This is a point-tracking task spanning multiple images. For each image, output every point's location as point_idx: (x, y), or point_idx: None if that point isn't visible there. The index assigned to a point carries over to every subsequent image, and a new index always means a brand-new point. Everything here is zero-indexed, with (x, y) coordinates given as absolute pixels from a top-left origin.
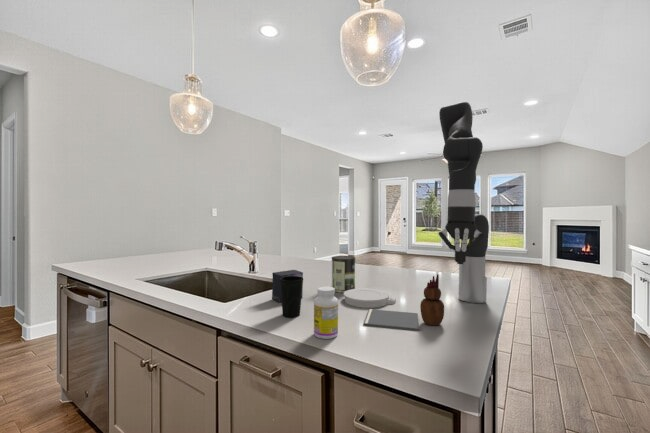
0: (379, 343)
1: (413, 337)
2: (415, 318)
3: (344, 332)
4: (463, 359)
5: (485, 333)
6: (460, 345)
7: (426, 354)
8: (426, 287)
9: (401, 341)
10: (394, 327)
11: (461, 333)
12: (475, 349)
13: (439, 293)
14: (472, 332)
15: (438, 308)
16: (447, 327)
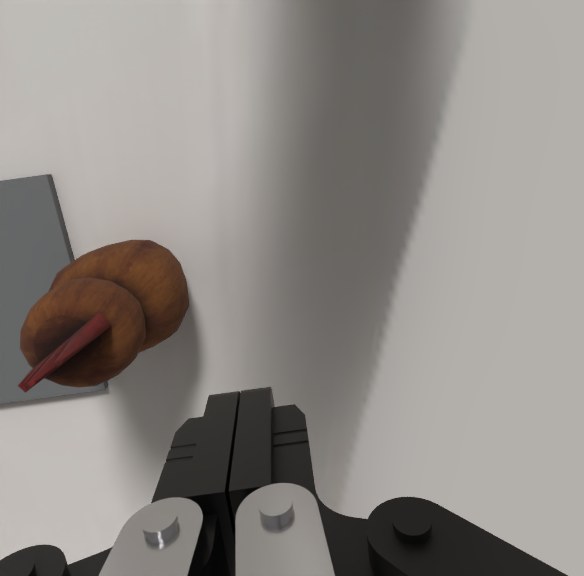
0: (8, 542)
1: (102, 454)
2: (58, 267)
3: None
4: None
5: (366, 307)
6: None
7: None
8: (28, 354)
9: (71, 501)
10: (4, 400)
11: (272, 346)
12: (312, 468)
13: (133, 357)
14: (315, 317)
15: (154, 345)
16: (214, 299)
